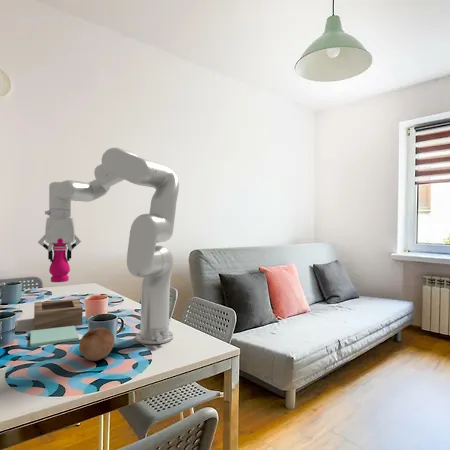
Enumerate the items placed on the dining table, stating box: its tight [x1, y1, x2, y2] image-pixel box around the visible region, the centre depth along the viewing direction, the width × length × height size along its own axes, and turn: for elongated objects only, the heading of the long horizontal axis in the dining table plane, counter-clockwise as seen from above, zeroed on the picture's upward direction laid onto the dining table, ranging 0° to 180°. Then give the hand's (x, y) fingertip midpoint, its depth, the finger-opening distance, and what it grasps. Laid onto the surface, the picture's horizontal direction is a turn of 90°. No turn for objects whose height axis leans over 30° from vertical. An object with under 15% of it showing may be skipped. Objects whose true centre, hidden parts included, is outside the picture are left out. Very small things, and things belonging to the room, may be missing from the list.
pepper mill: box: [48, 238, 71, 283], centre depth 131 cm, size 7×7×20 cm
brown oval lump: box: [78, 326, 115, 362], centre depth 98 cm, size 10×9×10 cm
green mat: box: [29, 325, 80, 348], centre depth 115 cm, size 14×14×1 cm
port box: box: [33, 298, 84, 330], centre depth 131 cm, size 16×16×6 cm
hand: (59, 260), depth 131 cm, fingers closed on pepper mill, 5 cm apart
